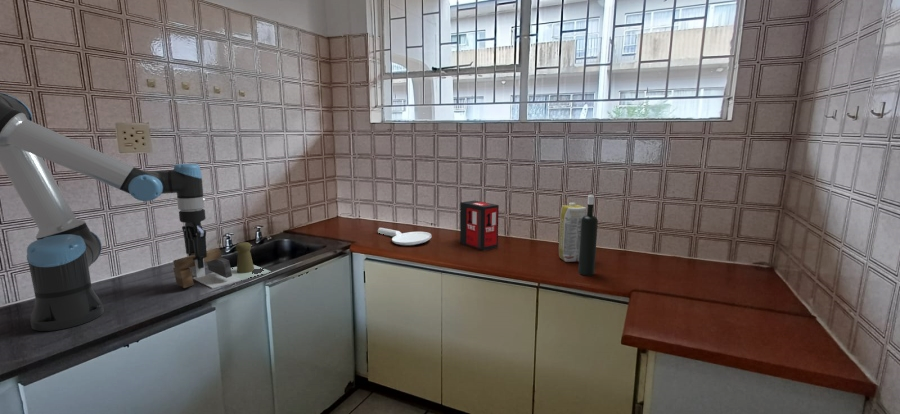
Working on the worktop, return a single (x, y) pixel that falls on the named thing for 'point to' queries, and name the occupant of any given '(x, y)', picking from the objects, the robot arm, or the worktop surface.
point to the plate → (218, 280)
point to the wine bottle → (588, 241)
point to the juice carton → (570, 231)
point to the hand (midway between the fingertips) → (198, 275)
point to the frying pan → (406, 236)
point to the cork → (244, 258)
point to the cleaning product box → (479, 225)
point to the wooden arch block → (212, 259)
